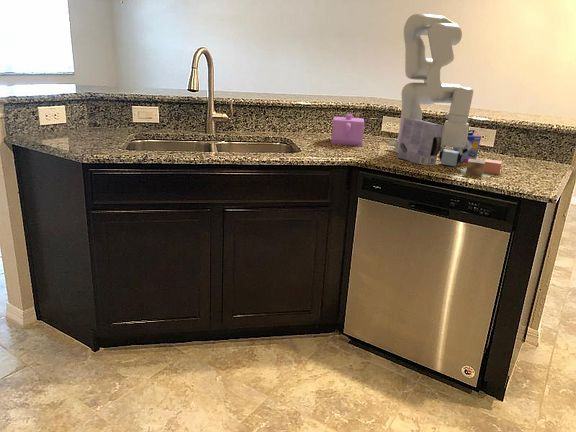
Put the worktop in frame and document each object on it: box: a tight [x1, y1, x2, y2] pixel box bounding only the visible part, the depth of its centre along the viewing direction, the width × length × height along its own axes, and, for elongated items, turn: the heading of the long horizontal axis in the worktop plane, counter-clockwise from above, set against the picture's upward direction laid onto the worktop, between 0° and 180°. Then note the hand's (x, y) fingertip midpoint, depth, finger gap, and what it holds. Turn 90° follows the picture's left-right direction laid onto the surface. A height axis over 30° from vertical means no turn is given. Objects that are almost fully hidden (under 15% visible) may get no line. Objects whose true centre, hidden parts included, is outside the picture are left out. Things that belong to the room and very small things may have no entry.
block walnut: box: [465, 158, 486, 177], centre depth 183 cm, size 6×6×5 cm
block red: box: [483, 158, 503, 175], centre depth 189 cm, size 6×6×5 cm
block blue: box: [440, 148, 459, 167], centre depth 195 cm, size 6×6×5 cm
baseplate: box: [460, 169, 489, 178], centre depth 185 cm, size 10×7×1 cm
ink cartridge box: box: [452, 129, 482, 164], centre depth 204 cm, size 10×6×14 cm, turn 111°
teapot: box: [330, 113, 365, 147], centre depth 236 cm, size 15×25×14 cm, turn 173°
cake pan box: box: [397, 118, 444, 166], centre depth 199 cm, size 19×5×18 cm, turn 32°
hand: (449, 161), depth 196 cm, fingers closed on block blue, 6 cm apart
